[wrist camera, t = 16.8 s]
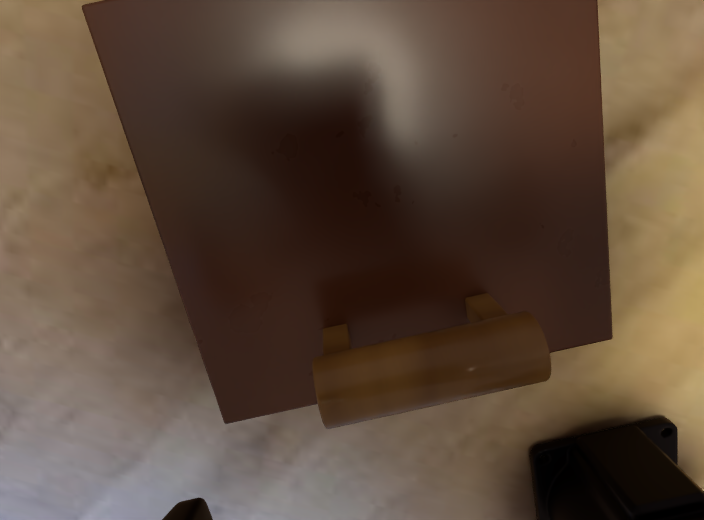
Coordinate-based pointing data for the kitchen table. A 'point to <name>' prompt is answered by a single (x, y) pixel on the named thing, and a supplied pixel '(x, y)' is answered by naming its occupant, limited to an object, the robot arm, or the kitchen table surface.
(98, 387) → the kitchen table surface
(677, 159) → the kitchen table surface
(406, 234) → the lid
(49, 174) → the kitchen table surface
